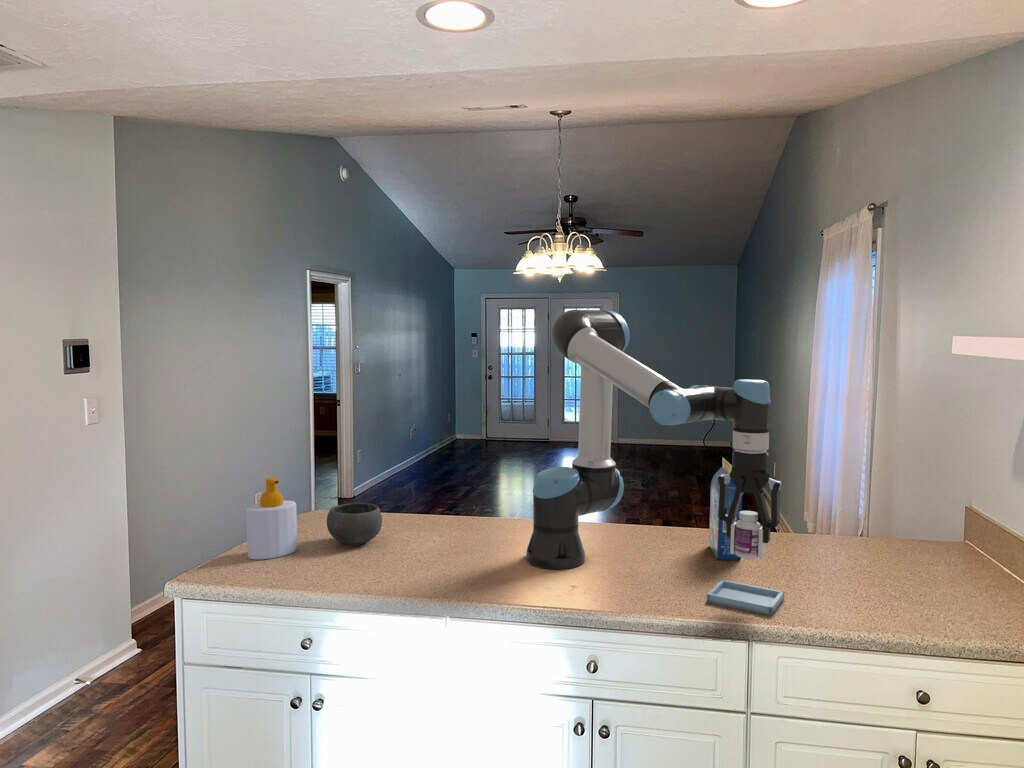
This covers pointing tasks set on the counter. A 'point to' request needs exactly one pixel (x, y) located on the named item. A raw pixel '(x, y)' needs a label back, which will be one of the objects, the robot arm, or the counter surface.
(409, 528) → the counter surface
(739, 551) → the pill bottle
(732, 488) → the blue food package
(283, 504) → the soap bottle
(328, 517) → the bowl
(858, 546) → the counter surface
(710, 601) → the tray
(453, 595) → the counter surface
